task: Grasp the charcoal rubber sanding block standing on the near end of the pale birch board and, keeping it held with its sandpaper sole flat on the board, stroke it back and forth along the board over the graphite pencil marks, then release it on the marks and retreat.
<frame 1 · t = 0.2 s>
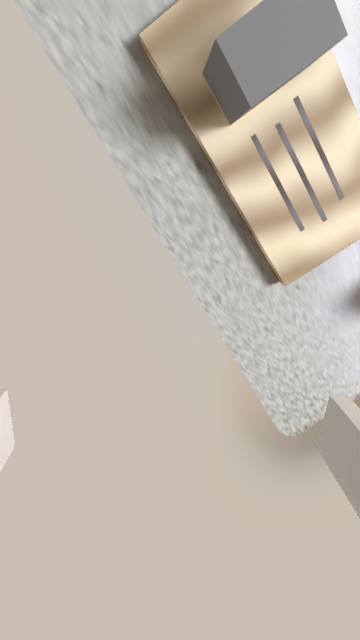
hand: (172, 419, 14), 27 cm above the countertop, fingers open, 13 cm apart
sanding block: (252, 72, 31), point 2 cm above the countertop, touching board
board: (275, 136, 35), on the countertop
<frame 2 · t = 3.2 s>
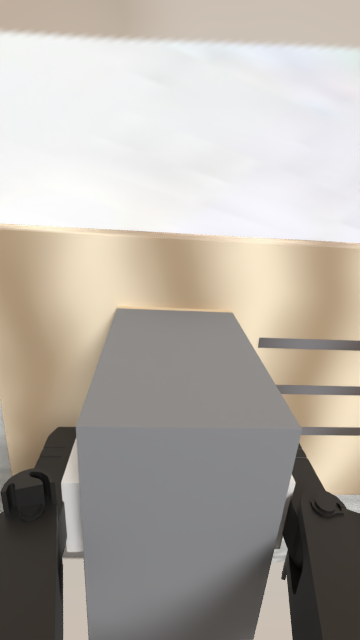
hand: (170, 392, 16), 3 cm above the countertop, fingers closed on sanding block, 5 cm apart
sanding block: (170, 386, 16), point 2 cm above the countertop, touching board, gripper
board: (277, 369, 19), on the countertop
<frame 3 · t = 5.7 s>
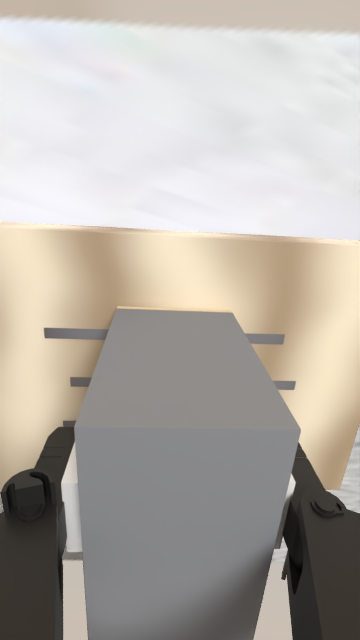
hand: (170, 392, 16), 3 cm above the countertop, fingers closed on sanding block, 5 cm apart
sanding block: (170, 386, 16), point 2 cm above the countertop, touching gripper
board: (98, 361, 18), on the countertop
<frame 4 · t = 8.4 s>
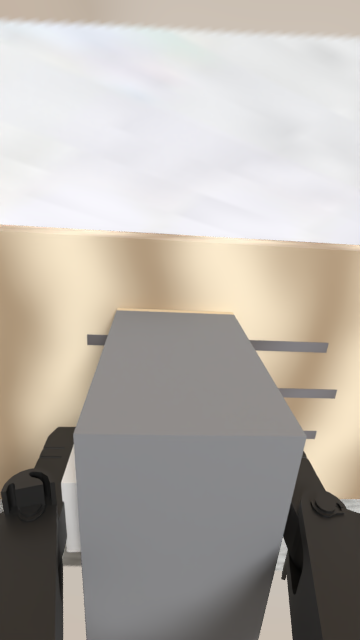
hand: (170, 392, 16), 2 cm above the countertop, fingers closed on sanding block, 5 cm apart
sanding block: (171, 389, 16), point 2 cm above the countertop, touching gripper
board: (135, 368, 18), on the countertop
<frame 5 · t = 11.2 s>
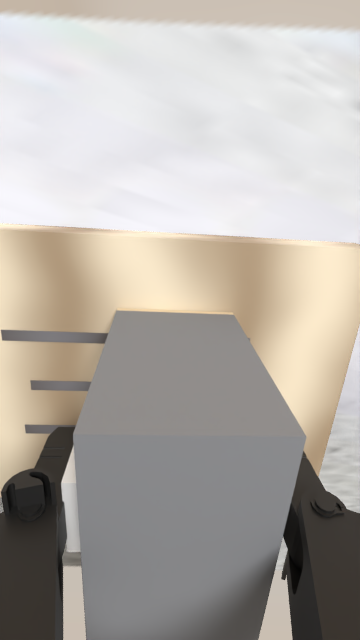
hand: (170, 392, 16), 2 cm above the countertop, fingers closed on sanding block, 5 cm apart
sanding block: (171, 389, 16), point 2 cm above the countertop, touching gripper
board: (64, 364, 18), on the countertop
when the fingers open (3 cm above the countertop, at t = 13.6 s): sanding block stays where it is, resting on board.
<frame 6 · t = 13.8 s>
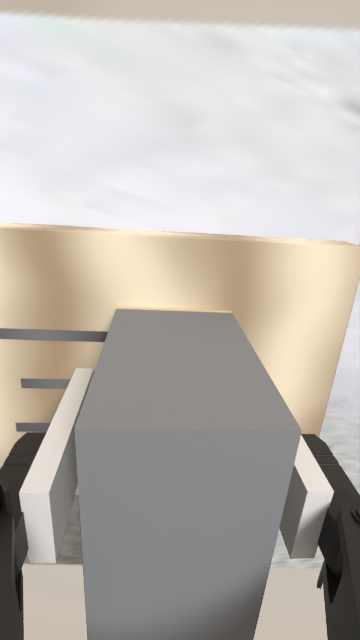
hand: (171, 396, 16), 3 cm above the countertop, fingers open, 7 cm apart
sanding block: (170, 387, 16), point 2 cm above the countertop, touching board
board: (55, 363, 18), on the countertop
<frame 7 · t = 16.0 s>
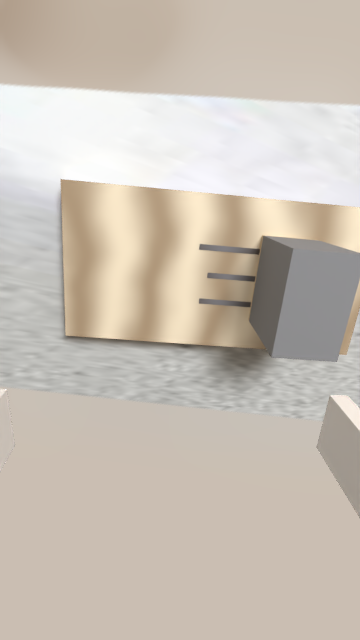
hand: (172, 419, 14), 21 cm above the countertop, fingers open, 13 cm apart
sanding block: (281, 281, 31), point 2 cm above the countertop, touching board
board: (215, 271, 33), on the countertop
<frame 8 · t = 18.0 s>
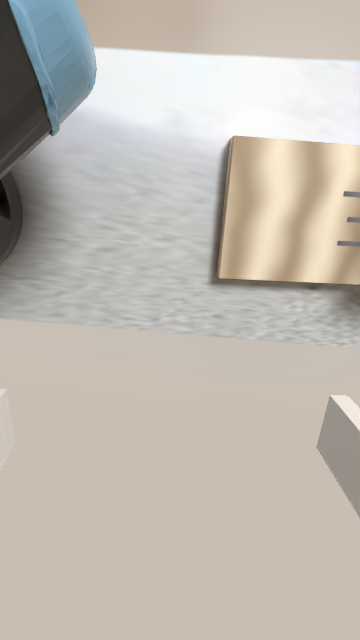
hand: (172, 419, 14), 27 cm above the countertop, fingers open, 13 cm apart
board: (346, 218, 38), on the countertop
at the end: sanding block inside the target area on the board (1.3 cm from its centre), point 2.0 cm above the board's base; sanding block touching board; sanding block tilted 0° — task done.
